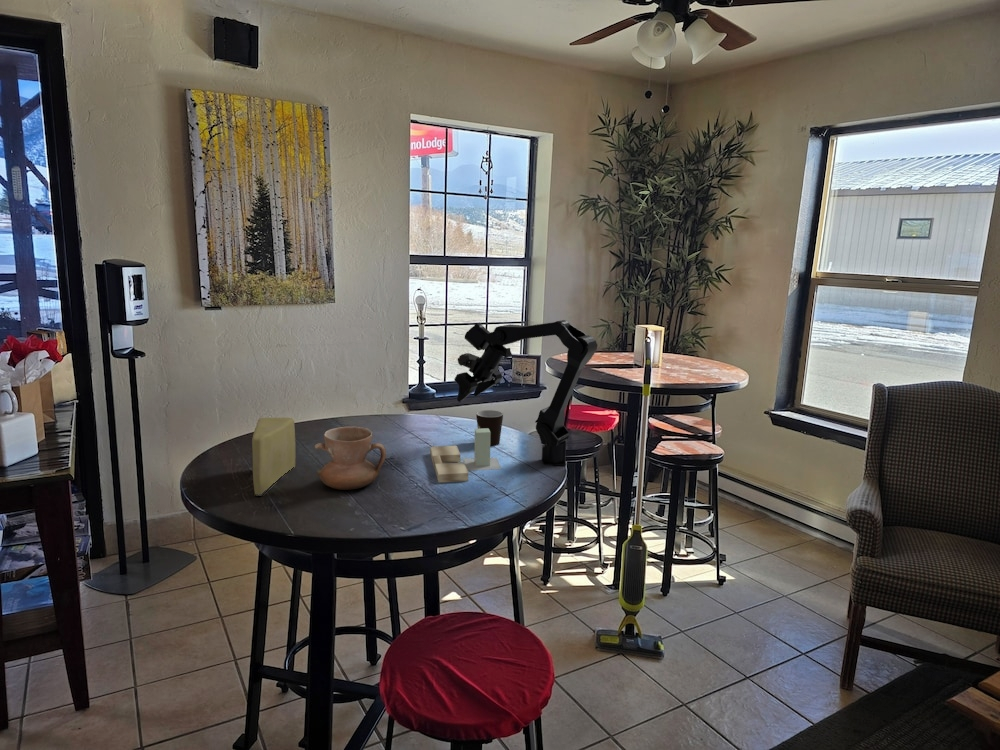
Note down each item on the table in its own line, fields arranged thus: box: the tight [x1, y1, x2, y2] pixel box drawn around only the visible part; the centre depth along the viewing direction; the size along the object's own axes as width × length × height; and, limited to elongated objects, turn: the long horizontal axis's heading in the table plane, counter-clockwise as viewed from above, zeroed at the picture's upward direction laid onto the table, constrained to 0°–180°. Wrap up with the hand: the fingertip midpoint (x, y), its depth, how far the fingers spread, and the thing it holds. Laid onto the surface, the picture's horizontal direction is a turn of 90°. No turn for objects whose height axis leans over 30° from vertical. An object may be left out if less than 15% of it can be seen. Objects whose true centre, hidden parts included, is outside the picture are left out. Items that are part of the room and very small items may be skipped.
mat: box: [462, 457, 503, 472], centre depth 186 cm, size 10×10×1 cm
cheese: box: [251, 417, 296, 495], centre depth 168 cm, size 22×10×15 cm, turn 6°
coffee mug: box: [475, 409, 504, 447], centre depth 206 cm, size 12×9×10 cm
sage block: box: [473, 428, 491, 466], centre depth 185 cm, size 4×4×10 cm
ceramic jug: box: [314, 425, 387, 491], centre depth 167 cm, size 18×14×14 cm
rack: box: [429, 445, 469, 483], centre depth 183 cm, size 8×24×2 cm, turn 11°
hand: (466, 398), depth 202 cm, fingers open, 9 cm apart
